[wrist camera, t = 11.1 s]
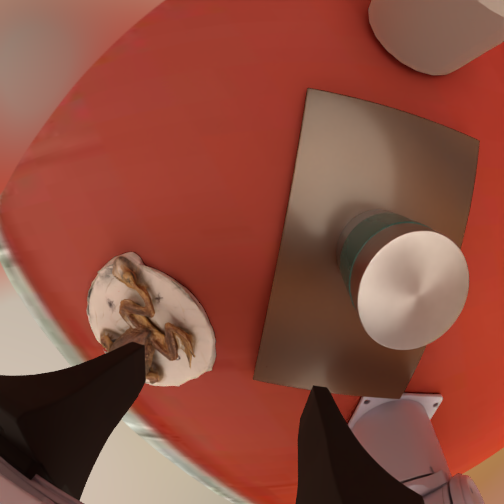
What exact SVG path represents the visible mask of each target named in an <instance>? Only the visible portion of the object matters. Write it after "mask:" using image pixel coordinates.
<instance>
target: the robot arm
mask: <svg viewBox="0 0 504 504" xmlns="http://www.w3.org/2000/svg"><path fill="white" fill-rule="evenodd" d="M145 381H146V370H145V345H142V344H139V343H136V342H133V341H132V342H130V343H128V344H125V345H123V346H121V347H119V348H117V349H115V350H112V351H110V352H108V353H106V354H104V355H101V356H99V357H97V358H94V359H92V360H89V361H87V362H84V363H81V364H79V365H76V366H73V367H70V368H66V369H62V370H58V371H54V372H49V373H42V374H36V375H26V376H25V375H24V376H5V375H4V376H3V375H0V504H84V503H82V502H80V497H81V495H82V492H83V489H84V487H85V484H86V482H87V479H88V477H89V475H90V472H91V470H92V468H93V466H94V464H95V462H96V460H97V458H98V456H99V454H100V452H101V450H102V448H103V446H104V444H105V443H106V441H107V439H108V437H109V436H110V434H111V433H112V431H113V430H114V428H115V427H116V426H117V424H118V423H119V421H120V420H121V419H122V418H123V416H124V415H125V414H126V412H127V411H128V409H129V408H130V407H131V405H132V404H133V403H134V401H135V400H136V398H137V397H138V395H139V393H140V391H141V389H142V387H143V385H144V383H145ZM365 400H368V401H365ZM442 400H443V397H442V395H441V394H417V393H403V394H402V396H401V398H400V399H387V398H374V397H363V396H362V398H361V400H360V402H359V404H358V406H357V408H356V410H355V412H354V414H353V415H352V417H351V419H350V421H349V423H348V424H347V423H346V421H345V419H344V418H343V416H342V414H341V412H340V411H339V409H338V407H337V405H336V403H335V401H334V399H333V397H332V395H331V393H330V391H329V389H328V388H327V387H321V386H314V385H313V387H312V389H311V392H310V395H309V397H308V400H307V403H306V405H305V408H304V410H303V413H302V415H301V418H300V425H299V434H298V490H297V498H296V504H484V501H483V499H482V496H481V494H480V492H479V490H478V488H477V486H476V485H475V483H474V482H473V480H472V479H471V478H470V477H469V476H467V475H462V474H459V473H458V474H456V475H455V476H453V477H452V476H451V473H450V471H449V468H448V465H447V462H446V460H445V457H444V454H443V452H442V449H441V446H440V444H439V441H438V439H437V436H436V434H435V431H434V429H433V426H432V424H431V421H430V419H431V418H432V416H433V414H434V413H435V411H436V410H437V408H438V407H439V405H440V403H441V402H442Z"/></svg>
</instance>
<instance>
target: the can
mask: <svg viewBox="0 0 504 504" xmlns="http://www.w3.org/2000/svg"><path fill="white" fill-rule="evenodd" d="M368 13H369V23H370V25H371V27H372V30H373V32H374V34H375V36H376V38H377V39H378V40H379V41H380V43H381V44H382V45H383V46H384V48H385V49H386V50H387V51H388V52H389V53H390V54H392V55H393V56H394V57H395V58H396V59H397V60H399V61H400V62H401V63H403V64H405V65H407V66H409V67H410V68H412V69H414V70H416V71H419V72H422V73H426V74H430V75H447V74H449V73H451V72H453V71H455V70H457V69H459V68H461V67H462V66H464V65H465V64H467V63H469V62H470V61H472V60H474V59H475V58H477V57H479V56H480V55H482V54H484V53H485V52H487V51H489V50H490V49H492V48H494V47H495V46H497V45H499V44H501V43H502V42H504V0H371V3H370V6H369V8H368Z"/></svg>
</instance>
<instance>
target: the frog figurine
mask: <svg viewBox="0 0 504 504" xmlns="http://www.w3.org/2000/svg"><path fill="white" fill-rule="evenodd" d="M87 302H88V306H87V315H88V317H89V323H90V325H91V328H92V331H93V333H94V334H95V337H96V339H97V340H98V342H100V343H101V344H102V346H103V347H104V348H106V350H107V351H108V352H110V351H112V350H115V349H117V348H119V347H121V346H123V345H125V344H128V343H130V342H132V341H133V342H136V343H139V344H142V345H145V370H146V381H145V383H147V384H150V385H154V386H180V385H181V384H183V383H185V382H187V381H188V380H191V379H195V378H198V377H199V376H200V375H202V374H203V373H205V372H207V371H212V367H213V364H214V361H215V358H216V348H215V342H216V339H215V335H214V331H213V327H212V325H211V324H210V322H209V319H208V317H207V314H206V312H205V311H204V308H203V307H202V305H201V304H200V303H199V301H198V300H197V299H196V298H195V297H194V296H193V294H192V293H191V292H190V291H189V290H188V289H187V288H186V287H184V286H182V285H181V284H179V283H178V282H177V281H176V280H174V279H173V278H171V277H170V276H168V275H166V274H164V273H163V272H160V271H159V270H157V269H154V268H152V267H151V268H150V267H148V266H145V265H144V264H143V262H142V259H141V258H140V256H138V255H137V254H135V253H134V252H127V253H124V254H122V255H119V256H115V257H114V258H113V259H111V260H110V261H109V262H108V263H107V264H105V266H104V267H103V268H102V269H101V270H99V271H98V275H97V277H96V278H95V279H94V281H92V284H91V287H90V289H89V292H88V297H87ZM104 352H105V351H104ZM108 352H105V353H108Z"/></svg>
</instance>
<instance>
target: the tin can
mask: <svg viewBox="0 0 504 504" xmlns="http://www.w3.org/2000/svg"><path fill="white" fill-rule="evenodd" d="M336 257H337V263H338V267H339V269H340V272H341V276H342V279H343V281H344V284H345V286H346V289H347V291H348V294H349V296H350V299H351V302H352V304H353V306H354V308H355V310H356V312H357V314H358V316H359V319H360V322H361V324H362V326H363V328H364V329H365V331H366V332H367V334H368V335H369V336H370V337H371V338H372V339H373V340H375V341H376V342H377V343H379V344H381V345H383V346H385V347H388V348H391V349H396V350H410V349H415V348H419V347H422V346H425V345H427V344H429V343H431V342H433V341H435V340H436V339H438V338H439V337H440V336H442V335H443V334H444V333H445V332H446V331H447V330H448V329H449V328H450V327H451V326H452V325H453V324H454V322H455V321H456V319H457V318H458V316H459V315H460V313H461V311H462V309H463V307H464V304H465V301H466V298H467V294H468V289H469V272H468V266H467V263H466V260H465V257H464V255H463V253H462V251H461V250H460V248H459V247H458V246H457V245H456V244H455V242H454V241H452V240H451V239H450V238H449V237H447V236H445V235H443V234H441V233H439V232H437V231H435V230H433V229H432V228H430V227H428V226H426V225H424V224H422V223H419V222H417V221H415V220H412V219H410V218H407V217H405V216H402V215H399V214H395V213H393V212H390V211H387V210H370V211H366V212H364V213H361V214H359V215H358V216H356V217H355V218H353V219H352V220H351V221H350V222H349V223H348V224H347V225H346V227H345V228H344V229H343V231H342V233H341V235H340V237H339V240H338V243H337V249H336Z"/></svg>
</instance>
